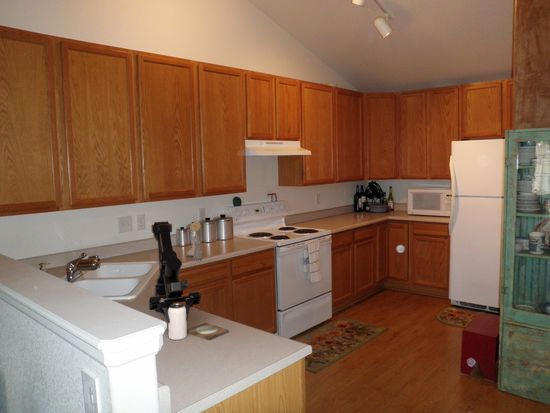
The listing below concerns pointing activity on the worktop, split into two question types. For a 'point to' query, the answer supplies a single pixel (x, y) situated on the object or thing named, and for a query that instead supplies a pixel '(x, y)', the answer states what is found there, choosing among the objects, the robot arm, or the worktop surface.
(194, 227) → the flower in vase
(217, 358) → the worktop surface
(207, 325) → the coaster board
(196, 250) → the salt shaker
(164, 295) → the robot arm
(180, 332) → the can
